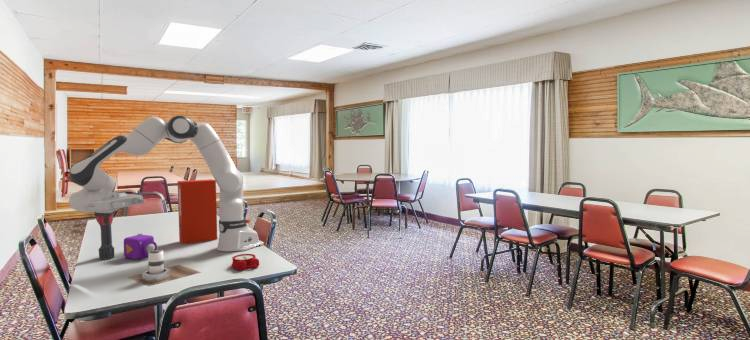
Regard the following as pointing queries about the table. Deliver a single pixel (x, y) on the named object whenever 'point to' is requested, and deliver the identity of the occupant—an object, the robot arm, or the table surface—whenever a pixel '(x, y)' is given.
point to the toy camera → (139, 246)
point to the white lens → (156, 261)
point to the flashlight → (105, 234)
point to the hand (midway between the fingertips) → (134, 203)
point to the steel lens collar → (156, 276)
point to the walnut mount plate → (175, 273)
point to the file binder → (197, 211)
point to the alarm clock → (244, 262)
